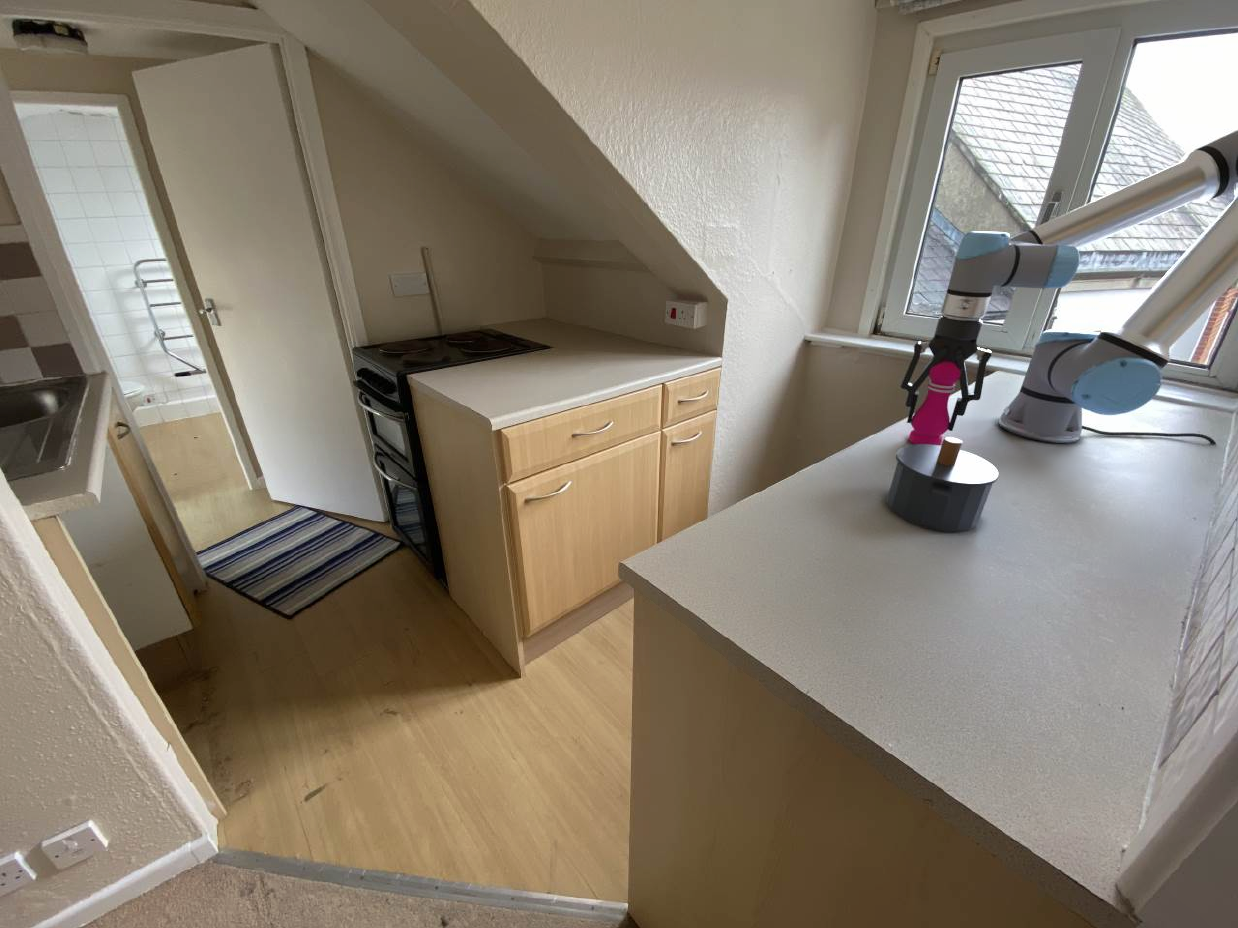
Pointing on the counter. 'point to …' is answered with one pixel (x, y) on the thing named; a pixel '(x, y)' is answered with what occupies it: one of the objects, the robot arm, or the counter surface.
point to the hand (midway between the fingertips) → (929, 424)
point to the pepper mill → (935, 405)
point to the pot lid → (947, 464)
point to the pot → (935, 502)
